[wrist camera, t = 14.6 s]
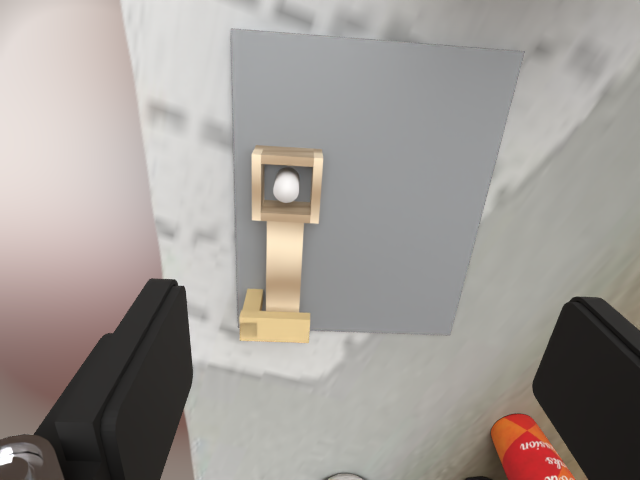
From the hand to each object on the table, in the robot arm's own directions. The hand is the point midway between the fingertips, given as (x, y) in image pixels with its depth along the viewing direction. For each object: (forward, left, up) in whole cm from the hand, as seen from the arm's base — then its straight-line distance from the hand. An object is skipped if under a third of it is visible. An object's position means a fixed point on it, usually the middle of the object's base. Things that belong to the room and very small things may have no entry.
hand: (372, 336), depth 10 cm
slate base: (-3, +7, -26) cm, 27 cm away
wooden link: (+3, +10, -25) cm, 27 cm away
